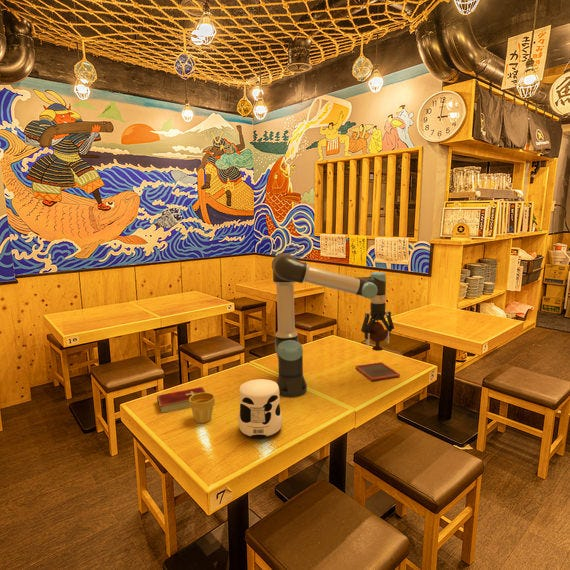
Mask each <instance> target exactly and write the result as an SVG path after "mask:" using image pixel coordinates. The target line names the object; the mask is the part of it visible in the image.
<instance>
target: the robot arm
mask: <svg viewBox="0 0 570 570" xmlns="http://www.w3.org/2000/svg"><path fill="white" fill-rule="evenodd" d="M271 270H272V282H273V283H274V284H275V285H276V286H275V287H276V309H277V311H276V314H277V331H276V332H275V334H274V338H275V340H274V351H275V353H276V356H277V363H278V364H277V365H278V366H277V367H278V377H277V379H276V383H277V384H278V386H279V396H281V397H285V398H296V397H301V396H303V395H305V394H306V393H307V391H308V385H307V383H306V380H305V377H304V362H303V361H304V359H303V353H304V349H303V345H302V344H301V342H299V333H298V332H297V331H296V326H295V325H296V322H295V321H296V320H295V317H296V316H295V291H294V289H295V286H294V285H295V283H299V284H303V283H308V284H312V285H313V284H314V285H316V286H320V287H325V288H328V289H333V290H336V291H341V292H344V293H345V292H346V293H348V294H352V295H353V294H354V295H357V296H359V297H360V296H361V297H364V298H365V299H368V300H369V299H370V304H369V305H370V308H369V309H370V312H368V313H367V312H365V313H364V319H363V322H362V325H361V329H360V331H361V332H362V333H364V339H365V345H366V346H368V347H370V344H371V343H370V342H371V341H370V340H371V339H370V333H369V331H370V329H371V327H372V325H373V323H374V322H379V321H381V322H382V325H384V328H386V329H385V330H386V331H388V336H387V338H386V339H385V340H384V342H385V343H386V344H390V337H391V334H392V331H393V330H394V329H395V326H394V322H393V319H392V316H391V315H392V312H391V311H389V310H386V304H387V303H386V300H387V299H386V293H387V292H386V290H387V278H386V277H387V275H386V273H385V272H382V271H374V272H371V273H370V275H369V276H359V277H358V276H357V277H356V276H355V277H353V276H349V275H345V274H341V273H338V272H334V271H330V270H327V269H326V270H325V269H322V268H318V267H314V266H310V265H309V264H308V263H307V262H303V261H300V260H298V259H296V258H295V257H294V256H292V255H291V254H289V253H285V252H283V253H279V254H277V255H276V256H274V258H273V259H272V261H271ZM385 316H386V318H385Z"/></svg>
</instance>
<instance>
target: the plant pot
mask: <svg viewBox="0 0 570 570" xmlns="http://www.w3.org/2000/svg"><path fill="white" fill-rule="evenodd" d="M215 398H216V397H215V394H213V393H211V392H207V391H205V392H203V393H197V394H194V395H192V396H191V397H190V398H189V405H190V407H189V408H190V409H191V410H192V416H193V419H194V421H195V422H196V423H198V424H205V423H208V422H210V421H211V420H212V416H213V409H214V406H215V404H216V402H215V401H216V400H215Z"/></svg>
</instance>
